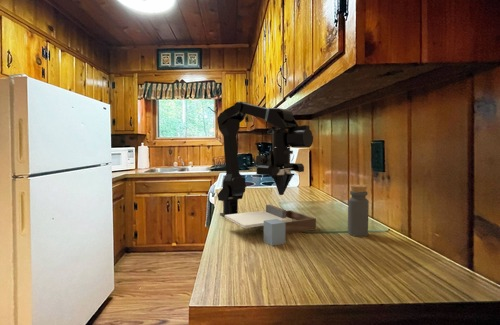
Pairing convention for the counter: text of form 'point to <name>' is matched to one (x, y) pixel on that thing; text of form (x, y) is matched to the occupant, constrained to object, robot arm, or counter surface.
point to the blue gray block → (274, 232)
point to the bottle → (358, 211)
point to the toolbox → (297, 223)
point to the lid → (258, 217)
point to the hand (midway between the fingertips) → (281, 194)
